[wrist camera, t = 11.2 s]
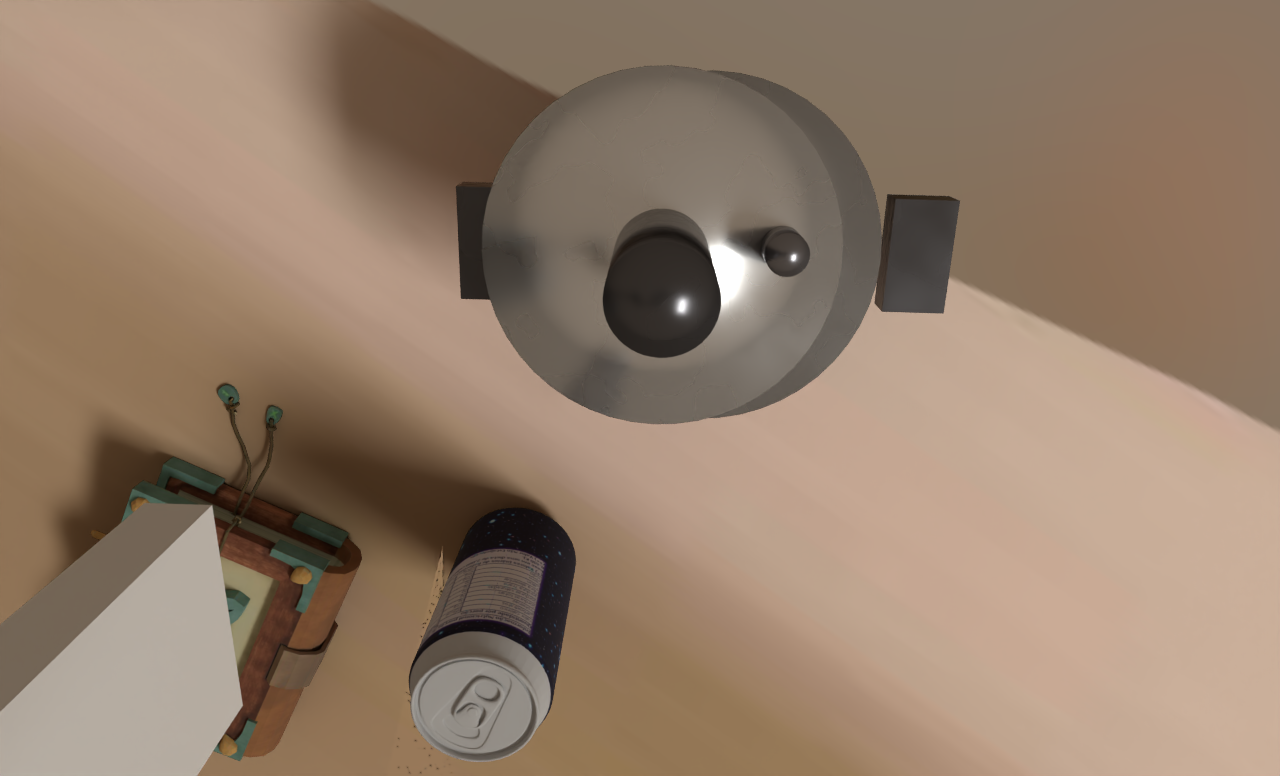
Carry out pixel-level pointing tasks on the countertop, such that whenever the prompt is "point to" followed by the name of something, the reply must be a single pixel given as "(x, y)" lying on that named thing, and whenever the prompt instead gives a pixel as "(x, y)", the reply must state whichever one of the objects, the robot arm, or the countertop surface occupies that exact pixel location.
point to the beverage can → (495, 638)
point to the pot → (897, 262)
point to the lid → (662, 244)
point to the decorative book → (264, 588)
